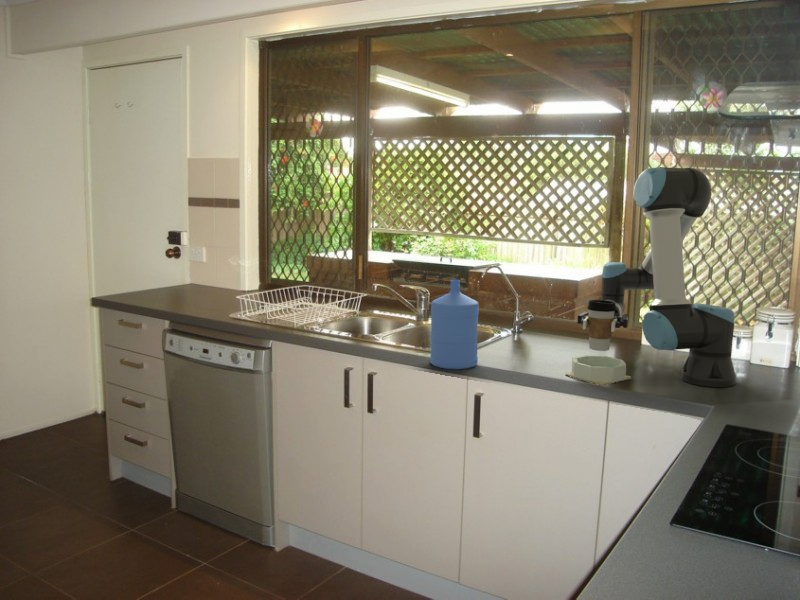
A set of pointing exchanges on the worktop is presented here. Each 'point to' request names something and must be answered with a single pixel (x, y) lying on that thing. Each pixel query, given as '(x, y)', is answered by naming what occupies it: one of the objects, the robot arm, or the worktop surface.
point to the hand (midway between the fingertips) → (598, 326)
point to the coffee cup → (600, 324)
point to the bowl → (598, 369)
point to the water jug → (454, 330)
